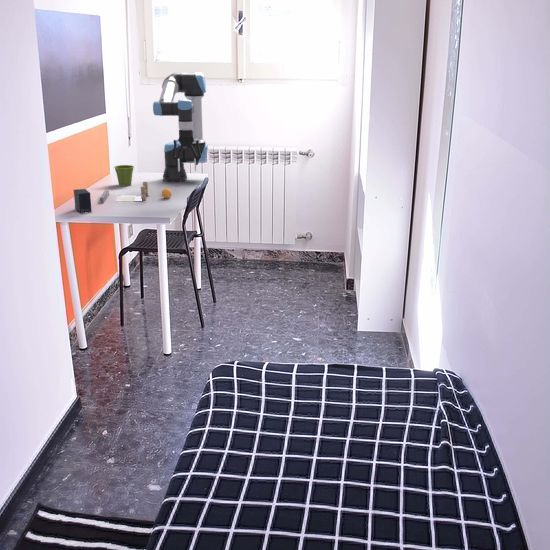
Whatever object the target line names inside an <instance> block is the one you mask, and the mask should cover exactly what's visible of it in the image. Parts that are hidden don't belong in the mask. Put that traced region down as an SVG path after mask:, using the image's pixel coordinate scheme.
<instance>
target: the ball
mask: <svg viewBox="0 0 550 550" xmlns="http://www.w3.org/2000/svg"><path fill="white" fill-rule="evenodd" d="M161 196H162V198H164V199H169V198H171V197H172V190H171V189H170V188H163V189H162V191H161Z"/></svg>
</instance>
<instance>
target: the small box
mask: <svg viewBox="0 0 550 550" xmlns="http://www.w3.org/2000/svg"><path fill="white" fill-rule="evenodd" d="M73 198H74V210H75V211H77V212H78V214H86V213H85V212H88V213H92V200H91V192H90V191H89V190H87V189H86V188H80V189H77V188H76V189H73Z"/></svg>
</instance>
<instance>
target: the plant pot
mask: <svg viewBox="0 0 550 550" xmlns="http://www.w3.org/2000/svg"><path fill="white" fill-rule="evenodd" d="M134 168H135V166H134V165H131V164H122V165H121V164H119V165H115V166H113V169H115V173H116V177H117V182H118V185H119V186H120V187H128V186H132V181H133V172H134Z"/></svg>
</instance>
